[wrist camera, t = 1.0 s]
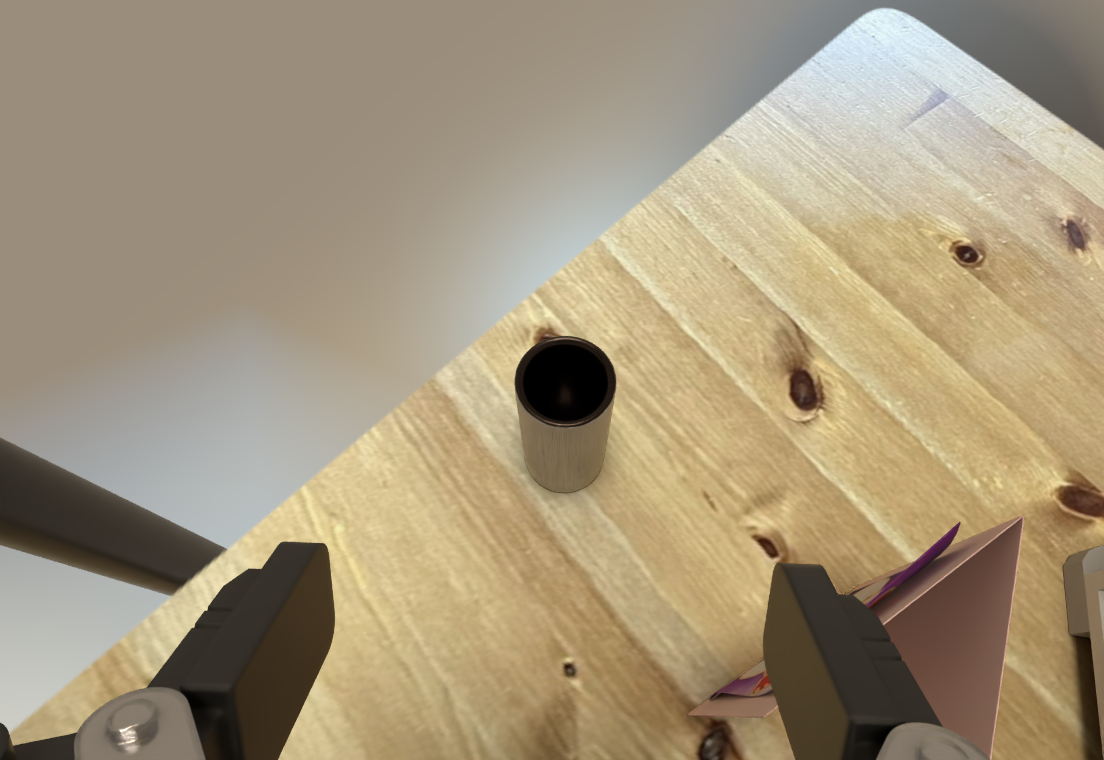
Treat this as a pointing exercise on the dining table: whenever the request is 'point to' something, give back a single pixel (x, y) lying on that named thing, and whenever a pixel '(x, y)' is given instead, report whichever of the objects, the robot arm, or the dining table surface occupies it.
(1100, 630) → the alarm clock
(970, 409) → the dining table surface
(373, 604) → the dining table surface
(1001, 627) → the greeting card
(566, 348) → the planter
